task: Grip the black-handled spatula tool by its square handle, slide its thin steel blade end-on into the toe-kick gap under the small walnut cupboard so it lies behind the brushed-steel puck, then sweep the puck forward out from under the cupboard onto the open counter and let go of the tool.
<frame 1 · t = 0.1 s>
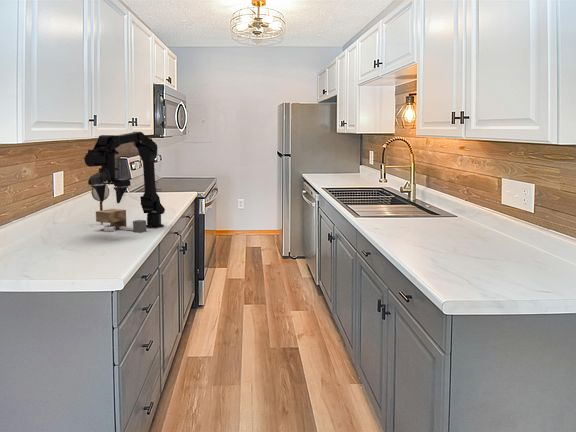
hand: (110, 202, 228), 15 cm above the counter, tool pointing down, fingers open, 9 cm apart
steel puck: (109, 231, 243), on the counter
magnifying glass: (102, 225, 259), on the counter
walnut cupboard: (112, 229, 247), on the counter
spatula tool: (139, 231, 242), on the counter
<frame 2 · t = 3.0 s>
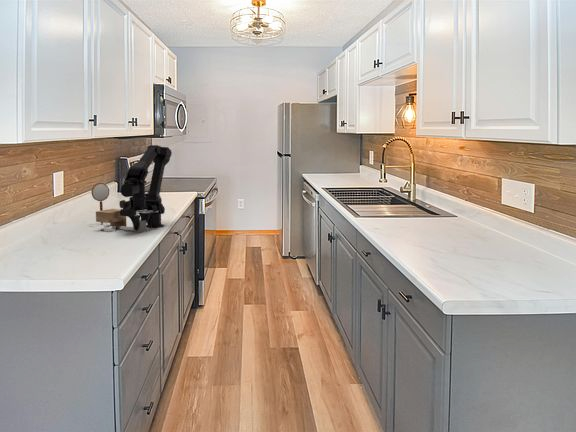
hand: (139, 229, 242), 1 cm above the counter, tool pointing down, fingers closed on spatula tool, 4 cm apart
spatula tool: (139, 231, 242), on the counter, touching gripper
everything else where it was.
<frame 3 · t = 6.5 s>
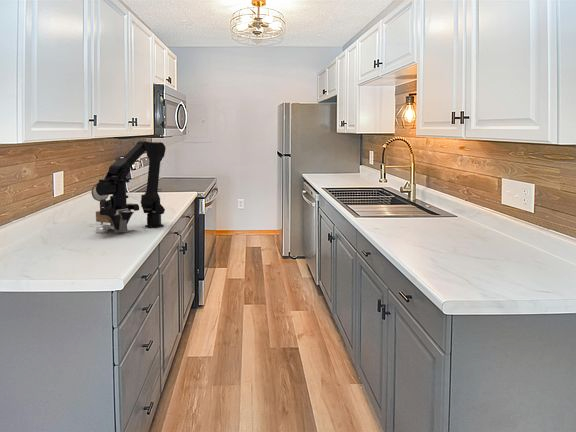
hand: (120, 228, 237), 2 cm above the counter, tool pointing down, fingers closed on spatula tool, 4 cm apart
steel puck: (102, 232, 240), on the counter
spatula tool: (120, 231, 238), point 1 cm above the counter, touching gripper
everything else where it was.
when the fingers open (1 cm above the counter, at t = 7.5 s): spatula tool stays where it is, on the counter.
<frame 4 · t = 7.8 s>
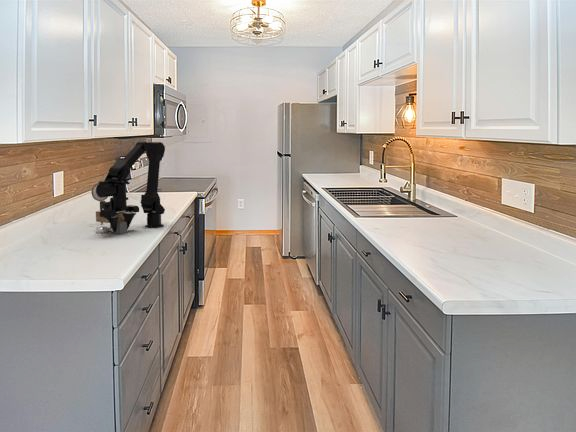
hand: (120, 230, 237), 1 cm above the counter, tool pointing down, fingers open, 7 cm apart
spatula tool: (120, 233, 238), on the counter
everything else where it was.
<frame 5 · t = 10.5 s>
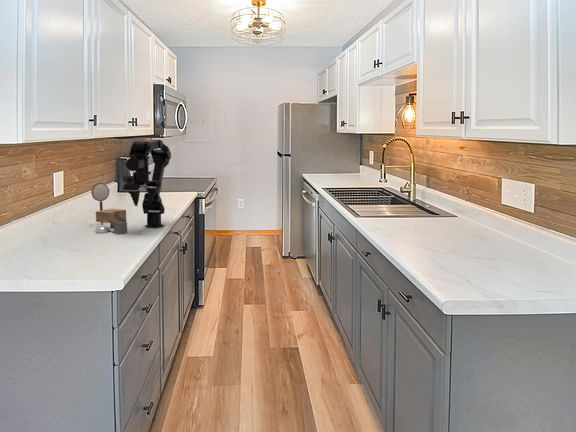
hand: (143, 204, 241), 12 cm above the counter, tool pointing down, fingers open, 9 cm apart
nothing on the counter moved.
at the end: steel puck inside the target area (2.6 cm from its centre), on the counter; steel puck moved 4.4 cm from its start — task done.
